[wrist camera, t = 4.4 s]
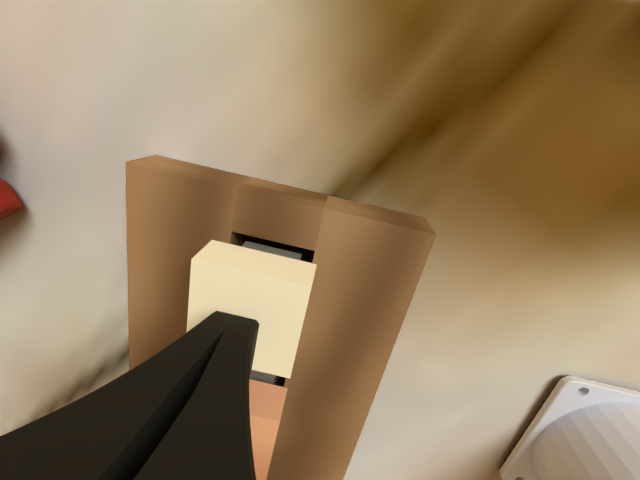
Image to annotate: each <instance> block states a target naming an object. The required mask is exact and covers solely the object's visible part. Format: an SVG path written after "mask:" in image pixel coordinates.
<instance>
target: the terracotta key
mask: <svg viewBox="0 0 640 480" xmlns="http://www.w3.org/2000/svg"><path fill="white" fill-rule="evenodd" d="M275 378H276V375H272V374H268V373H264V372H260V371H256V370H251V373H250V377H249V408H250V427H251V439H252V449H253V458H254V467H255V474H256V480H266V479H267V474H268V470H269V466H270V462H271V457H272V453H273V449H274V445H275V440H276V436H277V432H278V428H279V424H280V419H281V415H282V411H283V406H284V402H285V398H286V393H287V389H288V388H285V387H281V386H276V385H274V383H275Z"/></svg>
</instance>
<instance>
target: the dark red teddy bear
mask: <svg viewBox="0 0 640 480" xmlns="http://www.w3.org/2000/svg"><path fill="white" fill-rule="evenodd" d="M21 208H22V203H21V201H20V199H19V198H18V197H17V195H16V194H15V193H14V191H13V190H12V188H11V187H10V186H9V184H8V183H7V182H6V181H5V180H3V179H0V220H2V219H4V218H7V217H9V216H10V215H12V214H14V213H16V212H18V211H19V210H20V209H21Z"/></svg>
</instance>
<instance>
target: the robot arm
mask: <svg viewBox="0 0 640 480" xmlns="http://www.w3.org/2000/svg"><path fill="white" fill-rule="evenodd" d="M258 329H259V323H258V321H257V320H255V319H250V318H246V317H242V316H238V315H233V314H229V313H225V312H220V311H215V312H213V313H212V314H210V315H209V316H208V317H206V318H205V319H204V320H203V321H201V322H200V323H199V324H197V325H196V326H195V327H193V328H192V329H191V330H189V331H188V332H186V333H185V334H184V335H182V336H181V337H180V338H178V339H177V340H175V341H174V342H172V343H171V344H170V345H168V346H167V347H165V348H164V349H162V350H161V351H159V352H158V353H156V354H155V355H153V356H152V357H150V358H149V359H147V360H146V361H144V362H142V363H141V364H139V365H138V366H136V367H135V368H133V369H131V370H130V371H128V372H127V373H125V374H123V375H122V376H120V377H118V378H117V379H115V380H113V381H111V382H110V383H108V384H106V385H104V386H103V387H101V388H99V389H97V390H95V391H93V392H92V393H90V394H88V395H86V396H84V397H82V398H80V399H79V400H77V401H75V402H73V403H71V404H69V405H67V406H65V407H63V408H61V409H59V410H57V411H54V412H52V413H50V414H48V415H46V416H44V417H42V418H40V419H38V420H35V421H33V422H31V423H29V424H27V425H25V426H23V427H21V428H18V429H16V430H14V431H12V432H9V433H7V434H5V435H3V436H0V480H256V474H255V467H254V458H253V449H252V439H251V427H250V408H249V377H250V373H251V370H252V364H253V358H254V353H255V347H256V341H257V335H258ZM499 473H500V476H501V478H502V480H640V392H638V391H634V390H630V389H626V388H621V387H617V386H613V385H609V384H604V383H600V382H596V381H592V380H588V379H583V378H579V377H575V376H566V377H563V378H562V379H561V380H560V381H559V382H558V383H557V385H556V386H555V388H554V389H553V391H552V392H551V394H550V395H549V397H548V398H547V400H546V401H545V403H544V404H543V406H542V407H541V409H540V410H539V412H538V413H537V415H536V416H535V418H534V419H533V421H532V422H531V424H530V425H529V427H528V428H527V430H526V431H525V433H524V434H523V436H522V437H521V439H520V440H519V442H518V443H517V445H516V446H515V448H514V449H513V451H512V452H511V454H510V455H509V457H508V458H507V460H506V461H505V463H504V464H503V466H502V467H501V469H500V471H499Z"/></svg>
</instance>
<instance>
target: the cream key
mask: <svg viewBox="0 0 640 480" xmlns="http://www.w3.org/2000/svg"><path fill="white" fill-rule="evenodd" d="M301 256H302V254H300V253H295V252H291V251H287V250H283V249H278V248H274V247H270V246H266V245H261V244H257V243H253V242H249V241H246V242H245V243H244V244H243V245H242V246H237V245H232V244H228V243H224V242H220V241H215V240H211V241H210V242H209V243H208V244H207V245H206V246H205V247H204V248H203V249H202V250H200V251H199V252H198V253H197V254H196V255H195V256H194V257H193V258H192V259H191V271H190V286H189V301H188V316H187V331H186V332H188V331H189V330H191V329H192V328H193V327H195V326H196V325H197V324H199V323H200V322H201V321H203V320H204V319H205V318H206V317H208V316H209V315H210V314H212V313H213V312H215V311H220V312H225V313H229V314H233V315H238V316H242V317H246V318H250V319H255V320H257V321H258V323H259V329H258V335H257V341H256V347H255V353H254V358H253V364H252V370H256V371H260V372H264V373H268V374H272V375H277V376H281V377H285V378H289V379H290V377H291V373H292V368H293V364H294V360H295V356H296V352H297V347H298V343H299V339H300V335H301V330H302V326H303V322H304V318H305V313H306V309H307V305H308V301H309V296H310V292H311V288H312V284H313V279H314V275H315V271H316V266H317V264H313V263H309V262H305V261H301Z"/></svg>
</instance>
